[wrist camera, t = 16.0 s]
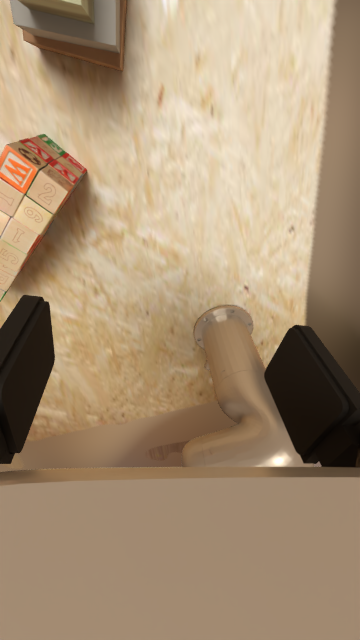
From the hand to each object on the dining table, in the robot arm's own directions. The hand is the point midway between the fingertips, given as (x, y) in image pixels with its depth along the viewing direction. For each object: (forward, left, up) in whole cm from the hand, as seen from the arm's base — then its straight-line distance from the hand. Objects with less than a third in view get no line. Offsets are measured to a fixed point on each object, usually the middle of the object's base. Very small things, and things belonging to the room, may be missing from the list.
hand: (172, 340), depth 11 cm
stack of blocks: (-9, +17, -35) cm, 40 cm away
